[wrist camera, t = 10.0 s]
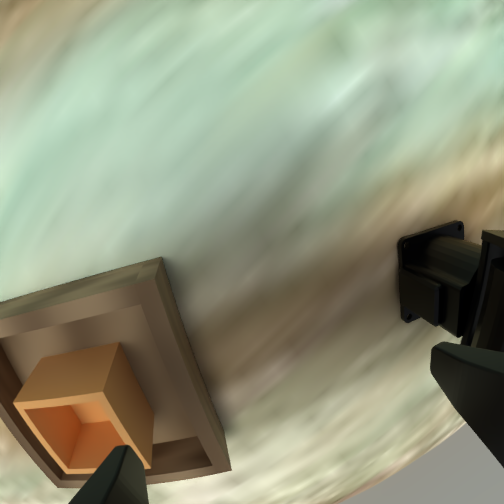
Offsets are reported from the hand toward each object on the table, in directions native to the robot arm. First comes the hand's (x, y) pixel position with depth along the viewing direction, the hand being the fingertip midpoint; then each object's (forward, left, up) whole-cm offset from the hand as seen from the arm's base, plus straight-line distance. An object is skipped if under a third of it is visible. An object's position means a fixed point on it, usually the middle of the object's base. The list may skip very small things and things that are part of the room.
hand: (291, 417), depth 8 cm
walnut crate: (+11, +5, -12) cm, 16 cm away
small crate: (+11, +5, -11) cm, 16 cm away
